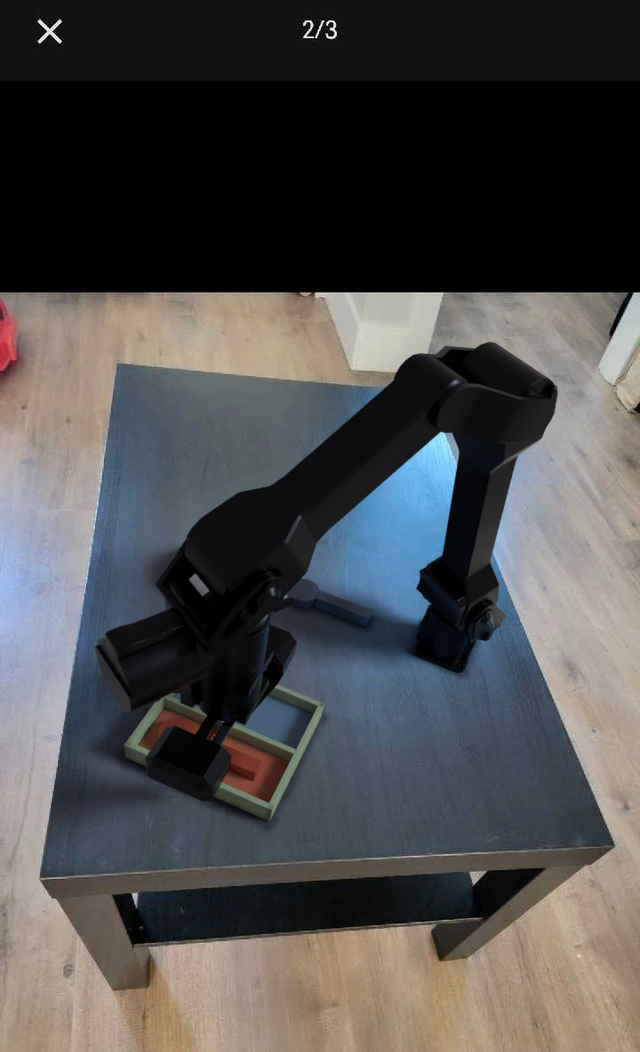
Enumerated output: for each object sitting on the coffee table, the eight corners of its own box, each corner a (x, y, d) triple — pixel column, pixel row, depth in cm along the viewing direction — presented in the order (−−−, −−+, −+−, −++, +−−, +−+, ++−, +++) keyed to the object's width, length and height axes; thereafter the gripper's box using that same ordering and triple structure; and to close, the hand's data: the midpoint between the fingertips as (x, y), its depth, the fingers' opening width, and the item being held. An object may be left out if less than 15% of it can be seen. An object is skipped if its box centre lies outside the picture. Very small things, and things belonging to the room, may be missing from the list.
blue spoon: (372, 612, 88) (375, 604, 86) (362, 633, 85) (364, 624, 84) (293, 581, 89) (295, 573, 88) (281, 601, 86) (283, 592, 85)
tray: (321, 716, 76) (324, 703, 74) (269, 821, 67) (272, 810, 65) (192, 662, 78) (192, 648, 76) (125, 757, 69) (123, 744, 67)
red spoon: (265, 759, 70) (266, 751, 69) (248, 791, 68) (249, 783, 67) (170, 718, 72) (170, 710, 71) (150, 748, 69) (149, 739, 68)
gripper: (197, 548, 63) (195, 655, 75) (78, 693, 51) (98, 793, 63) (308, 592, 62) (288, 693, 74) (212, 751, 50) (207, 842, 62)
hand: (223, 749), depth 68 cm, fingers open, 9 cm apart
